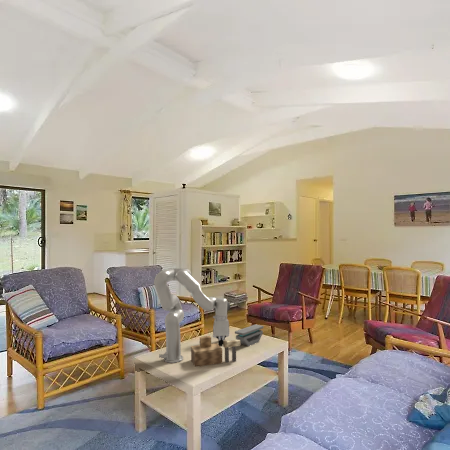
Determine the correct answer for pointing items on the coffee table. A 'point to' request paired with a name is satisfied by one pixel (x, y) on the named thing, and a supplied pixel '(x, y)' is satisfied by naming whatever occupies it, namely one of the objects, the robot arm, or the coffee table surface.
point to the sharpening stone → (249, 335)
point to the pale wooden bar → (231, 343)
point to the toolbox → (212, 357)
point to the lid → (206, 346)
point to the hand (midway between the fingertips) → (220, 345)
